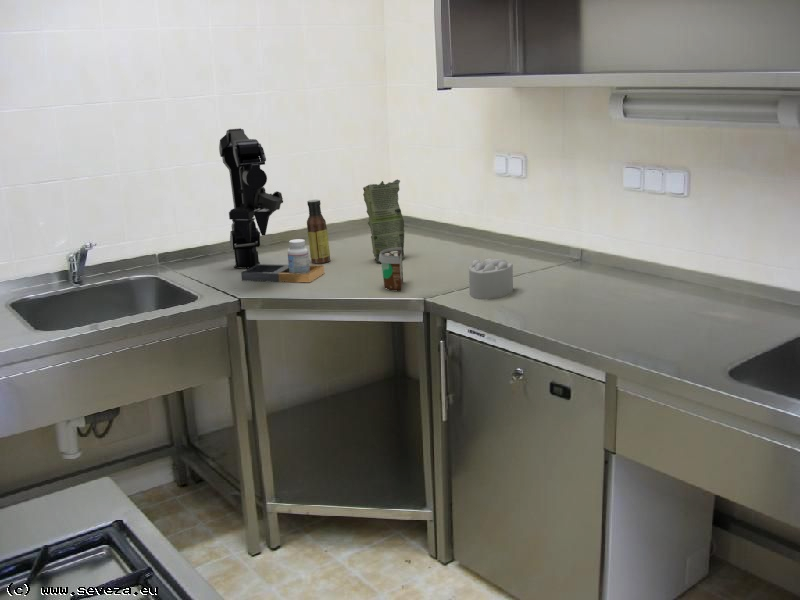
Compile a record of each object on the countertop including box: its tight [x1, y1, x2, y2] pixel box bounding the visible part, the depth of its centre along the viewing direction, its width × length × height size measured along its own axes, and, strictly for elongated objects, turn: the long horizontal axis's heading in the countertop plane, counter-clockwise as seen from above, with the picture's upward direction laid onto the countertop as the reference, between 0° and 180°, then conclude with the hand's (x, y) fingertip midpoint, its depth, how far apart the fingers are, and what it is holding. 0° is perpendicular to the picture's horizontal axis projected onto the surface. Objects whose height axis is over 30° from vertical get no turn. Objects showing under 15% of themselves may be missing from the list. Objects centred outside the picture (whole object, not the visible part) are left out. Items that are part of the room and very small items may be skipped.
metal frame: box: [240, 263, 325, 283], centre depth 253 cm, size 22×11×2 cm, turn 72°
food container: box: [379, 247, 404, 292], centre depth 234 cm, size 12×6×10 cm, turn 177°
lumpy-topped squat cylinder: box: [468, 257, 514, 300], centre depth 223 cm, size 10×13×9 cm
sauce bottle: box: [306, 199, 331, 264], centre depth 267 cm, size 7×6×20 cm
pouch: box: [362, 179, 405, 264], centre depth 265 cm, size 11×12×25 cm
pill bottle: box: [287, 238, 310, 273], centre depth 250 cm, size 6×6×11 cm
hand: (256, 238), depth 245 cm, fingers open, 9 cm apart
